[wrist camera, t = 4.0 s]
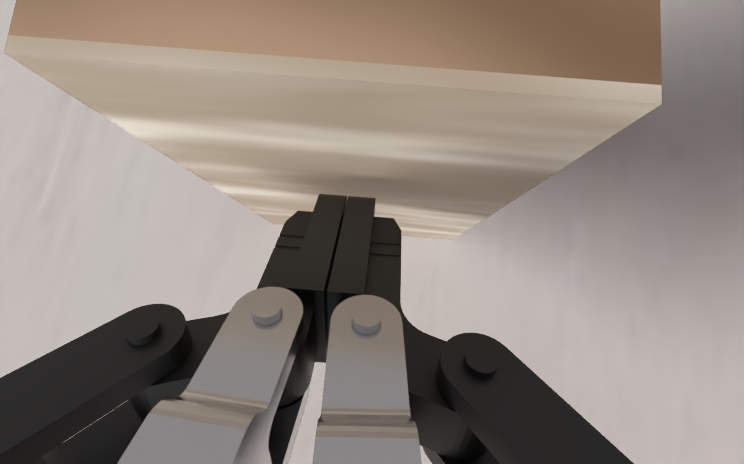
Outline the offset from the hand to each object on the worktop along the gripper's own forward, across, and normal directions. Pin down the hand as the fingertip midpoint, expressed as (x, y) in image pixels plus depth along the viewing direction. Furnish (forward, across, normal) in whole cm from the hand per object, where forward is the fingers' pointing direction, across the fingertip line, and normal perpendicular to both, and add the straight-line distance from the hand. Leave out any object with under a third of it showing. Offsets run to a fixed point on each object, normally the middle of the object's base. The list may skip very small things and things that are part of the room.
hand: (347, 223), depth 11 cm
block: (+10, 0, +5) cm, 11 cm away
